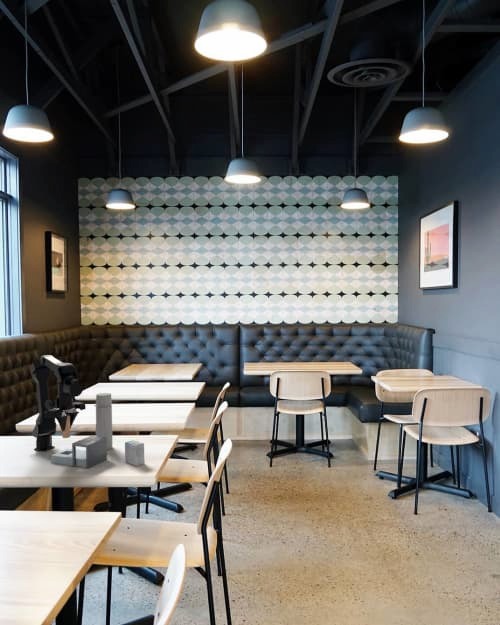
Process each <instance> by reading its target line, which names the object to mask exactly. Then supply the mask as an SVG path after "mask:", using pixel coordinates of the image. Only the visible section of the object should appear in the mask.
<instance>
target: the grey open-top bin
mask: <svg viewBox="0 0 500 625" xmlns="http://www.w3.org/2000/svg"><path fill="white" fill-rule="evenodd" d="M77 447H80V448H85V451H86V467H85V468H86V469H91V468H93V467H94V466H97V465H99V464H101V463H103V462H105V461H107V460H108V450H107V437H98V436H96V435H89V436H87V437H84V438H81V439H80V440H77V441H74V442H72V443H71V449H72V465H71V466H72V467H77V466H76V450H77Z"/></svg>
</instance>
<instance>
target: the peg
mask: <svg viewBox="0 0 500 625" xmlns="http://www.w3.org/2000/svg"><path fill="white" fill-rule="evenodd" d="M61 435H62V436H61V437H62V439H68V438H71V429H70V415H67V421H66V427H65V431H62V430H61Z"/></svg>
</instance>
